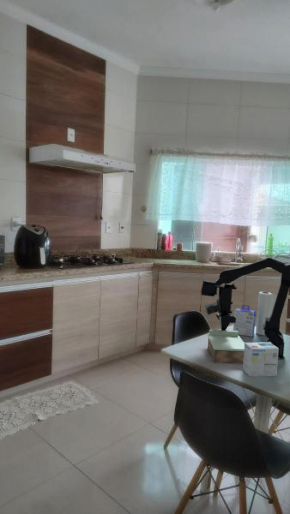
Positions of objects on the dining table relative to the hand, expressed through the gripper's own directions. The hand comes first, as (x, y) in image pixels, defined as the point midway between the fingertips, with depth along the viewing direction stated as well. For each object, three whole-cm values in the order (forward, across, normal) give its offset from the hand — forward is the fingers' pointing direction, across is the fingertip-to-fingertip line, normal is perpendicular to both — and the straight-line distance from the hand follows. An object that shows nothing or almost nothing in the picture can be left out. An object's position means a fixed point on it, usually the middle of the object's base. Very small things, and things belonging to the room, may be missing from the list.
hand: (222, 332), depth 152 cm
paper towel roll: (+7, -21, +25) cm, 33 cm away
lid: (+1, +9, 0) cm, 9 cm away
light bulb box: (+7, +25, +9) cm, 27 cm away
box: (+7, +10, 0) cm, 12 cm away
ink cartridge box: (+7, -20, +15) cm, 26 cm away
